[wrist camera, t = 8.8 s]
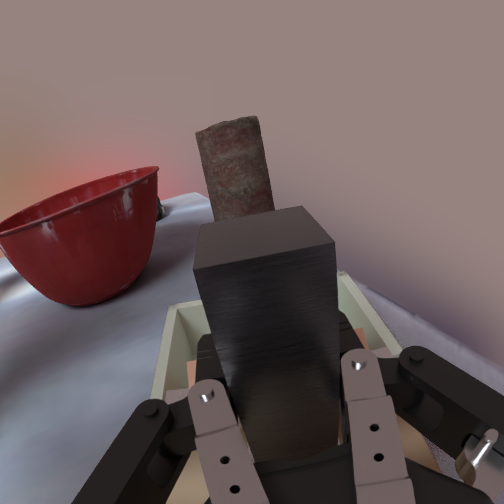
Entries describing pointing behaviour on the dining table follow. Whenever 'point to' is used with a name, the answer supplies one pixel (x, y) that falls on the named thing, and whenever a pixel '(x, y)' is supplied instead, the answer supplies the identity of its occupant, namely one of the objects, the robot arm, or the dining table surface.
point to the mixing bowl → (86, 238)
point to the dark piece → (275, 328)
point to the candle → (235, 168)
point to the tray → (195, 325)
